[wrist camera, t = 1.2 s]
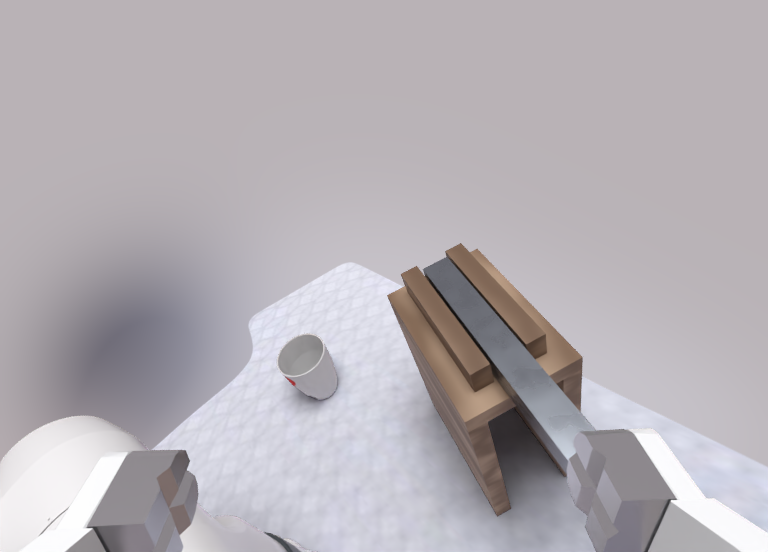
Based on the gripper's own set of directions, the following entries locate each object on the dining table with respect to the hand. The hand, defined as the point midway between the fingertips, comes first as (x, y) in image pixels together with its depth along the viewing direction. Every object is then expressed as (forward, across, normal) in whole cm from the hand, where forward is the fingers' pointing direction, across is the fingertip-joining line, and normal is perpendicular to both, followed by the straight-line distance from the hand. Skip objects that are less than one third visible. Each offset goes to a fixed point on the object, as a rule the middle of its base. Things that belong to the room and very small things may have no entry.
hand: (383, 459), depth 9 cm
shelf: (+38, +17, -42) cm, 59 cm away
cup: (+53, -9, -46) cm, 71 cm away
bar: (+26, +12, -19) cm, 34 cm away
